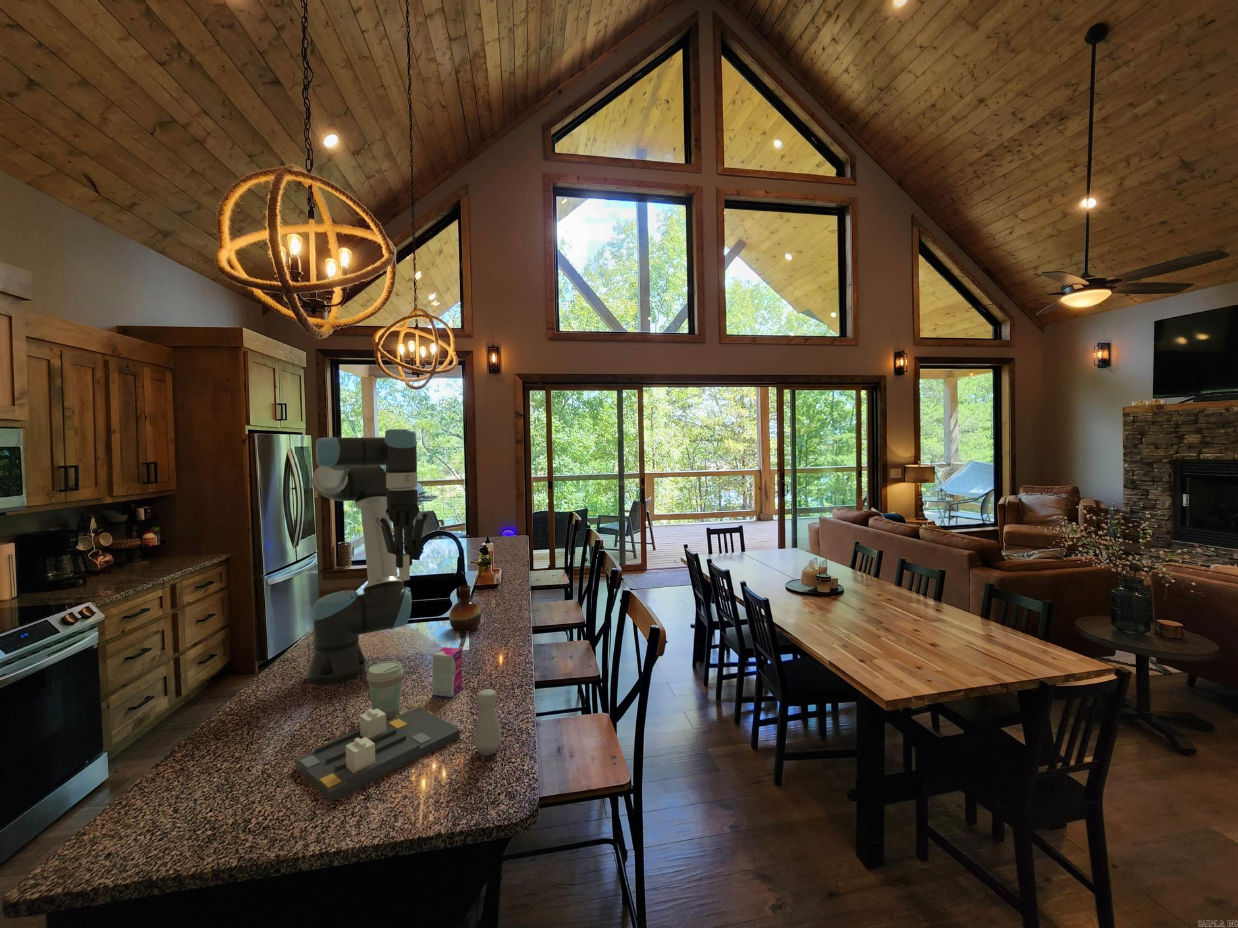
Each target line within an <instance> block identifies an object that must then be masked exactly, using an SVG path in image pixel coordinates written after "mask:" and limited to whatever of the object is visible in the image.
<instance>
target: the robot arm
mask: <svg viewBox="0 0 1238 928" xmlns="http://www.w3.org/2000/svg"><path fill="white" fill-rule="evenodd" d="M417 445H418V441H417V433H416V431H415V430H414V429H412V428H411V429H410V428H392V429H391V428H389V429H386V430H385V432H384V436H383V437H381V436H380V437H373V436H372V437H371V436H370V437H369V436H368V437H346V436H344V437H338V436H337V437H335V436H330V437H329V436H328V437H320V438H317V440H316V441H315V460H316V465H317V466H318V467H317V468H316V469H315V470H314V472H313V474H312V477H311V484H312V486H313V489H314V490H315V492H317V493H318V494H319V495H321V496H322V497H324V498H327V499H329V500H333V501H337V502H354V505H355V507H356V508H357V509H358V510H360V512H361V523H362V532H363V542H364V543H363V545H364V551H365V552H364V553H365V562H366V563H365V564H366V571H367V572H366V574H367V583H366V584H365V586H364V587H363V589H362V590H363V593H361V594H359V593H358V591H357V590H354V589H349V590H340V591H335V592H333V593H330V594H327V595H324V596H322V597H320V598H319V599H318V600H316V601H315V602H314V604H313V607H312V608H313V609H312V617H311V619H312V621H313V646H314V647H313V650H314V651H313V654H312V657H311V661H310V663H309V667H308V670H307V678H308V679H307V680H308V681H309V682H310V683H311V684H316V685H331V684H332V685H333V684H338V683H344V682H346V681H351V680H352V679H355V678H356V677H359V676H361V675H363V673H364V672H366V669H367V661H366V658H365V655H364V653H363V651H362V648H361V646H360V640H359V637H360V636H359V635H364V634H369V633H370V634H371V633H375V632H379V631H386V630H394V629H396V628H401V627H404V626H405V625H406V624H408V622H409V620H410V617H411V612H412V593H411V592H412V591H411V588H410V587H407V586H405V583H404V581H409V580H411V576H410V575H411V573H410V571H411V570H410V569H411V567H412V566H413V555H414V554H415V552H416V551H419V549H420V548H421V546H420V545H421V541H422V537H423V531H424V526H425V522H426V520H427V518H428V513H425V512H422V511H420V507H419V505H418V503H419V491H418V489H417V487H418V460H417V459H418V458H417V456H418V453H417V452H418V451H417V450H418V449H417ZM414 521H415V523H414Z"/></svg>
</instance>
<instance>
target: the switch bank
mask: <svg viewBox="0 0 1238 928" xmlns="http://www.w3.org/2000/svg"><path fill="white" fill-rule="evenodd" d="M460 730H461V729H460V728H457V727H456V726H454V725H452V724H450V723H449V722H448V721H445V720H443V719H442V718H440V717H438V716H437V715H435V714H433V713H431V712H430V711H428V710H426V709H424V708H422V707H421V706H419V707H417V708H414V709H412V710H410V711H407V712H404V713H402V714H401V715H398V716H397V715H396V716H395V717H393V718H390V719H387V720H386V732H384V733H381V734H379V735H377V736H375V737H372V738H370V739H369V740H371V741H372V742H373V743H375V764H373V765H370V766H368V767H366V768H364V769H362V770H360V771H358V772H356V773H352V772H351V771H350V770H349V769H348V768H346V745H348V744H350V743H352V742H355V740H354V739H356V738H360V739H362V738H364V737H362V736H361V735H360V728H359V729H356V730H354V731H352V732H348V733H346V734H344V735H342V736H339V737H337V738H334V739H332V740H329V741H327V742H325V743H322V744H320V745H318V746H314V750H313V751H312V752H309V753H306V754H305V755H302V756H299V757H298V758H295V759H294V761H295V762H294V763H295V765H294V766H295V770H296V771H297V772H298V773H299V774H300V775H302V777H303V778H305V780H306V781H308V783H310V784H311V785H312V786H313V787H314V789H316V790H317V791H318V793H320V794H321V795H322V796H323V797H324V798H325V799H326V800H327V801H328V802H329V803H330V804H331V803H333V802H335V801H337V800H339V799H341V798H343V797H345V796H347V795H349V794H351V793H353V792H355V791H357V790H359V789H361V788H363V787H365V786H367V785H369V784H371V783H372V782H376V781H378V780H380V779H382V778H383V777H385V776H387V775H389V774H392V773H393V772H396V771H397V770H399V769H401V768H403V767H406V766H407V765H409V764H412V763H413V762H415V761H417V760H419V759H422V758H423V757H426V756H427V755H429V754H431V753H433V752H436V751H437V750H439V749H441V748H443V747H445V746H447V745H449V744H452V743H453V742H455V741H457V740H459V739H460V738H461V731H460Z"/></svg>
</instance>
